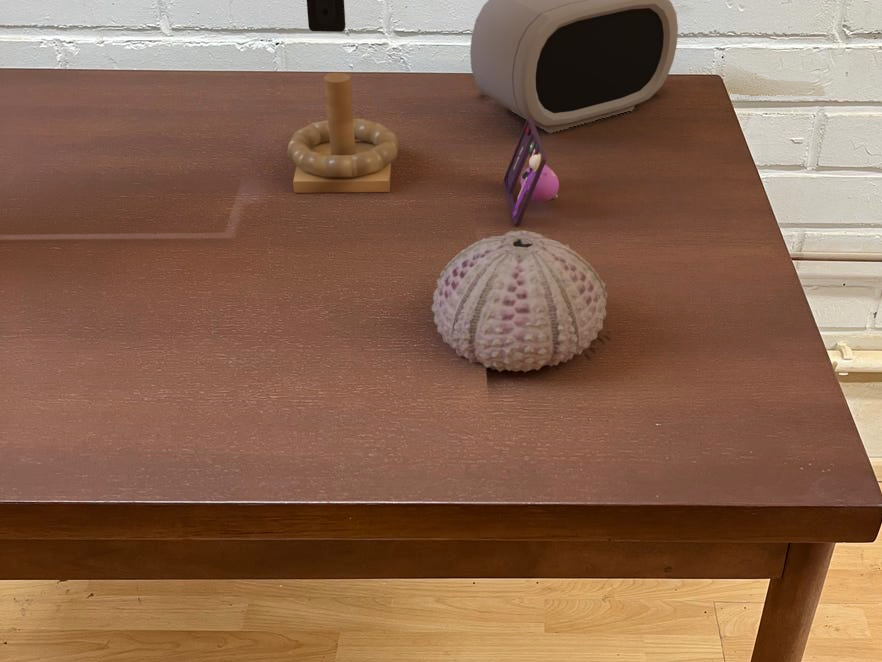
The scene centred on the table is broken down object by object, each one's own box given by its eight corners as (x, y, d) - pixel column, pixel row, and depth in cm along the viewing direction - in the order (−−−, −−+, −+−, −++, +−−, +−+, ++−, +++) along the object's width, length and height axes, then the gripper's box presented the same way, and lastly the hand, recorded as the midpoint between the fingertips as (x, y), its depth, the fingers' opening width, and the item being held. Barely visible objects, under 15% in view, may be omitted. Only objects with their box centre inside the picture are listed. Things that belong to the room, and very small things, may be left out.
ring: (283, 181, 94) (280, 160, 93) (295, 134, 102) (293, 115, 101) (396, 181, 95) (395, 160, 93) (400, 134, 102) (399, 115, 101)
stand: (294, 193, 95) (282, 96, 89) (303, 152, 102) (292, 59, 96) (389, 192, 96) (384, 95, 89) (392, 152, 102) (387, 59, 96)
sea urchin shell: (416, 378, 73) (412, 282, 68) (446, 283, 83) (445, 192, 78) (599, 395, 72) (609, 298, 67) (607, 296, 82) (617, 205, 77)
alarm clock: (520, 146, 103) (525, 8, 95) (470, 115, 109) (470, -18, 100) (671, 105, 112) (689, -25, 103) (617, 78, 118) (629, -47, 109)
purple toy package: (521, 113, 93) (535, 155, 86) (572, 130, 94) (589, 172, 88) (495, 179, 97) (507, 223, 90) (544, 194, 99) (559, 238, 92)
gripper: (281, -226, 88) (299, -15, 99) (256, -195, 75) (280, 44, 86) (367, -224, 88) (375, -14, 99) (357, -192, 75) (368, 45, 86)
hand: (331, 13), depth 93 cm, fingers open, 9 cm apart
